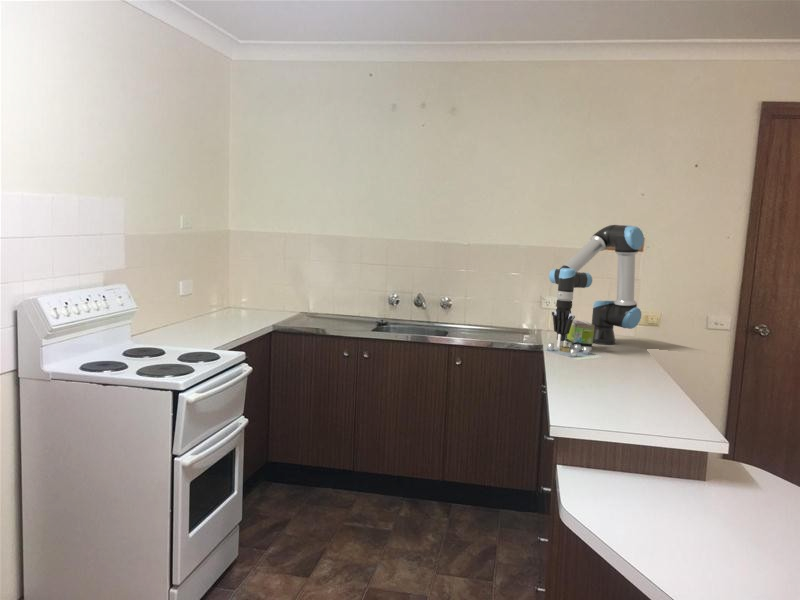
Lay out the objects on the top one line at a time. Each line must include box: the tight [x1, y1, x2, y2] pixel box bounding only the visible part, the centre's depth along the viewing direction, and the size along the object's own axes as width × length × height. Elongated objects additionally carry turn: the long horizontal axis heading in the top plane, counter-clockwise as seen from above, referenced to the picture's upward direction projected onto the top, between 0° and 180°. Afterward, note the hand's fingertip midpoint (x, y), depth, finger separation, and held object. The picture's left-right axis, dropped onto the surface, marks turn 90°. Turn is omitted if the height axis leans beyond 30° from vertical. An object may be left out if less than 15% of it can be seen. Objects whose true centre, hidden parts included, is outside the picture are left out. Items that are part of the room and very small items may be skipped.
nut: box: [559, 345, 570, 352], centre depth 327 cm, size 4×5×2 cm
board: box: [543, 348, 602, 361], centre depth 323 cm, size 18×22×1 cm
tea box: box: [563, 319, 595, 352], centre depth 340 cm, size 15×10×15 cm
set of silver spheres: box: [546, 342, 591, 358], centre depth 324 cm, size 15×17×4 cm
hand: (559, 347), depth 329 cm, fingers closed
